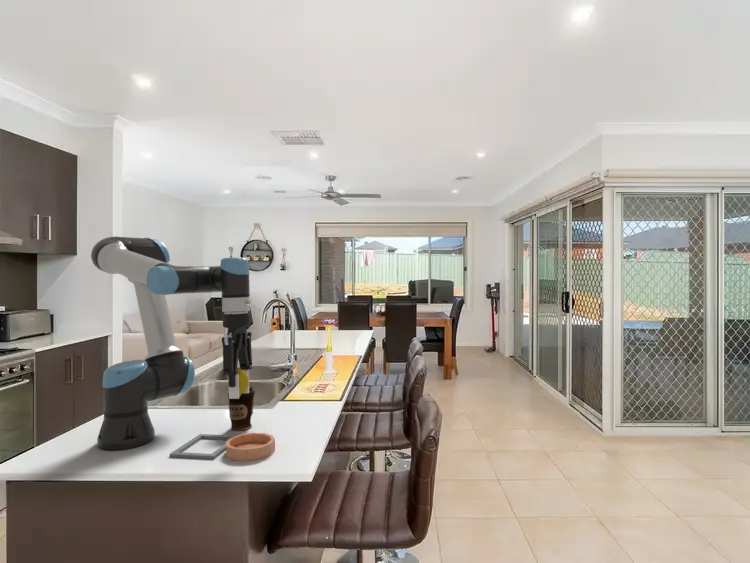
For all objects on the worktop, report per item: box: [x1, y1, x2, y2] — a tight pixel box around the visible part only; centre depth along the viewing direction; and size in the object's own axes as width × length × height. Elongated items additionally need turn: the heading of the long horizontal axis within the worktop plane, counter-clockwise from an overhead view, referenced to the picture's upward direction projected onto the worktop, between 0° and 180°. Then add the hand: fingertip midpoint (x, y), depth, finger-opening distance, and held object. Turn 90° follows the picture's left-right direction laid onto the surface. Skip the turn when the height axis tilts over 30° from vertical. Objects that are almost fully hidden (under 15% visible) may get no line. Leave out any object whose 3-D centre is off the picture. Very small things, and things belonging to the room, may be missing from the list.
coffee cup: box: [227, 385, 256, 431], centre depth 151 cm, size 9×8×13 cm
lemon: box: [237, 367, 250, 396], centre depth 131 cm, size 6×6×8 cm
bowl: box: [225, 432, 276, 462], centre depth 130 cm, size 13×13×3 cm
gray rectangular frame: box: [169, 433, 236, 460], centre depth 134 cm, size 13×16×1 cm
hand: (239, 395), depth 131 cm, fingers closed on lemon, 5 cm apart
